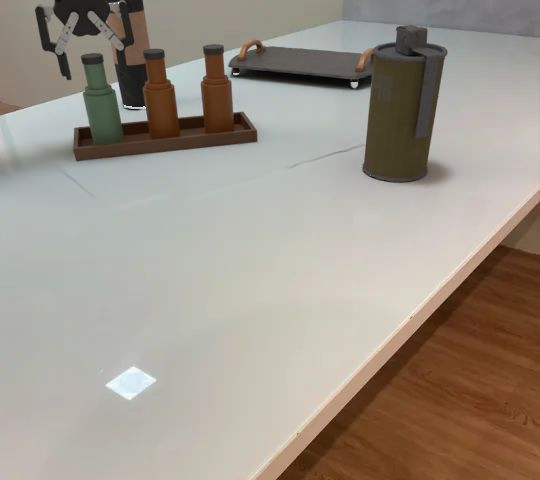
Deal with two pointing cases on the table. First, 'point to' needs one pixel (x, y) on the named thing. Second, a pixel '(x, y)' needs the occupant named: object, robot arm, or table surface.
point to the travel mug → (132, 53)
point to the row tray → (142, 144)
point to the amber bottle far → (216, 92)
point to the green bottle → (101, 102)
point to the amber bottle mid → (159, 97)
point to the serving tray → (304, 61)
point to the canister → (403, 105)
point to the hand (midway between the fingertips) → (95, 77)
